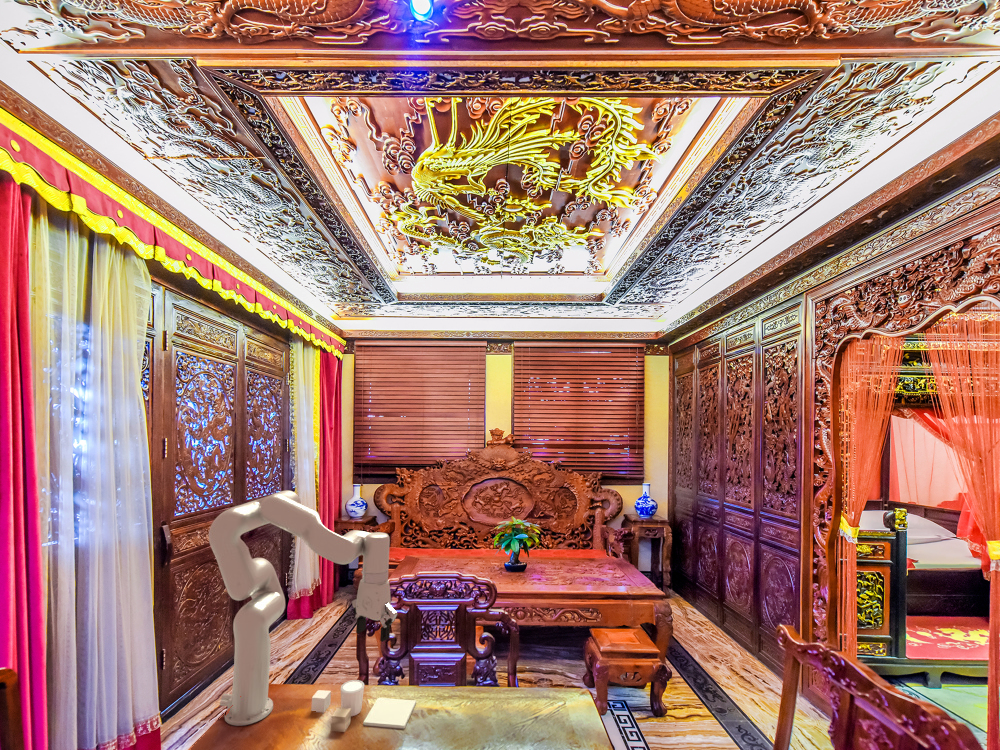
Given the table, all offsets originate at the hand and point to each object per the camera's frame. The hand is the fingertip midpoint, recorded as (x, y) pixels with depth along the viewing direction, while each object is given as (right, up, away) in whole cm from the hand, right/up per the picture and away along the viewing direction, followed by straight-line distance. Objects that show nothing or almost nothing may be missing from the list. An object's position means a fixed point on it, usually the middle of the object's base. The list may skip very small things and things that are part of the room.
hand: (372, 635), depth 142 cm
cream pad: (+5, -23, -1) cm, 23 cm away
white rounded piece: (-6, -23, +1) cm, 24 cm away
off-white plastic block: (-16, -23, +1) cm, 28 cm away
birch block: (-7, -22, -7) cm, 24 cm away
